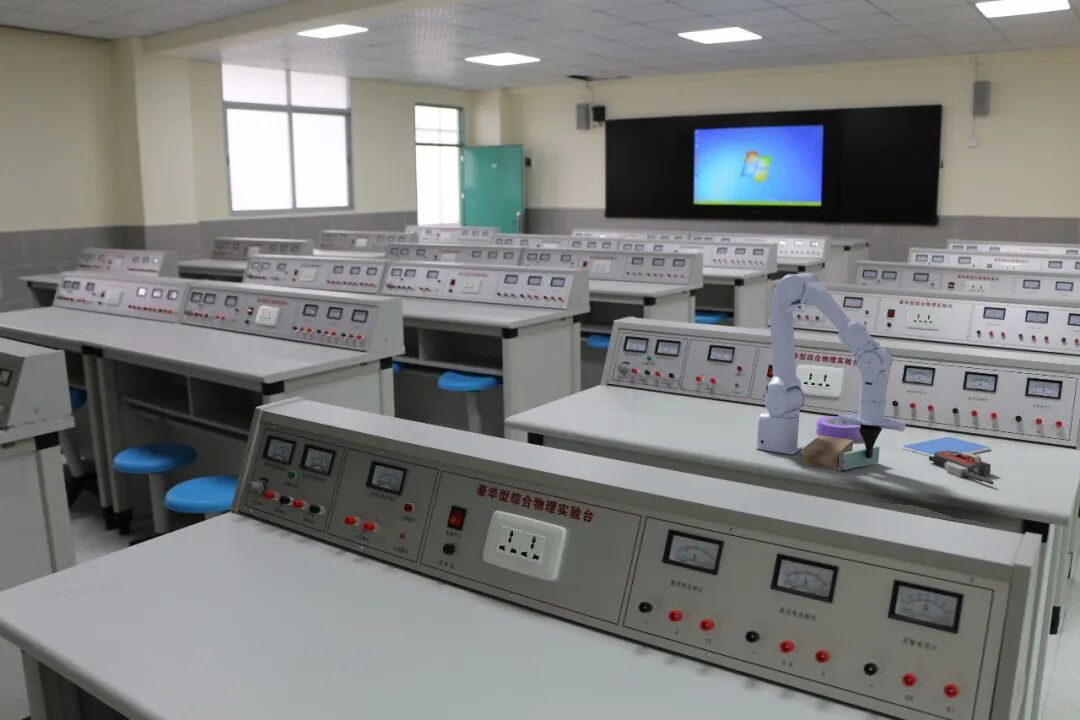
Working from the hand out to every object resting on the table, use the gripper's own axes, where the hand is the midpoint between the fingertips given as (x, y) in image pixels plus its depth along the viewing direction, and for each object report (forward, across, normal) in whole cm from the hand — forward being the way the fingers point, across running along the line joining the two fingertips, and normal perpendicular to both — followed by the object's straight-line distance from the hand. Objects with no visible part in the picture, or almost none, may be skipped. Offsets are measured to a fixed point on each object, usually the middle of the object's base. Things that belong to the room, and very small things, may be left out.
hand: (868, 457), depth 204 cm
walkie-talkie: (+3, +20, +9) cm, 22 cm away
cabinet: (+2, -10, +1) cm, 10 cm away
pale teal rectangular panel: (+2, -2, -1) cm, 3 cm away
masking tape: (+3, -14, +27) cm, 30 cm away
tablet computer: (+3, +12, +28) cm, 31 cm away
